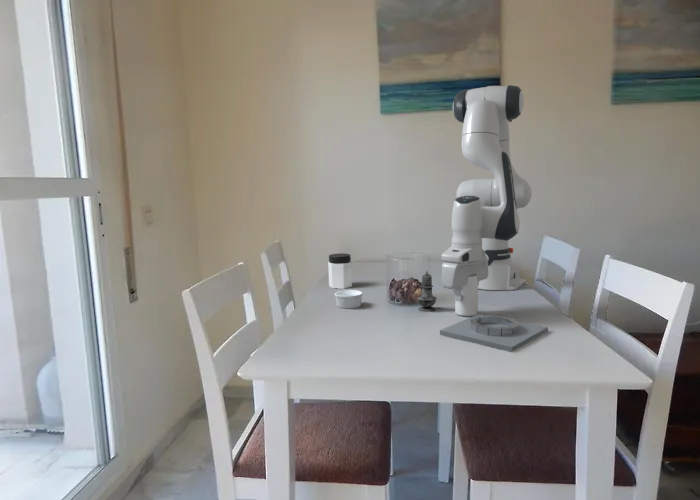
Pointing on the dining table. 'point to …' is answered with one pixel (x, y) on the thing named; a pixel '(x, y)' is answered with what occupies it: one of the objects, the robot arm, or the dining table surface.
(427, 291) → the salt shaker
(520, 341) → the board
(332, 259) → the jar
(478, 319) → the collar
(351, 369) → the dining table surface
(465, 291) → the can
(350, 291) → the ramekin
